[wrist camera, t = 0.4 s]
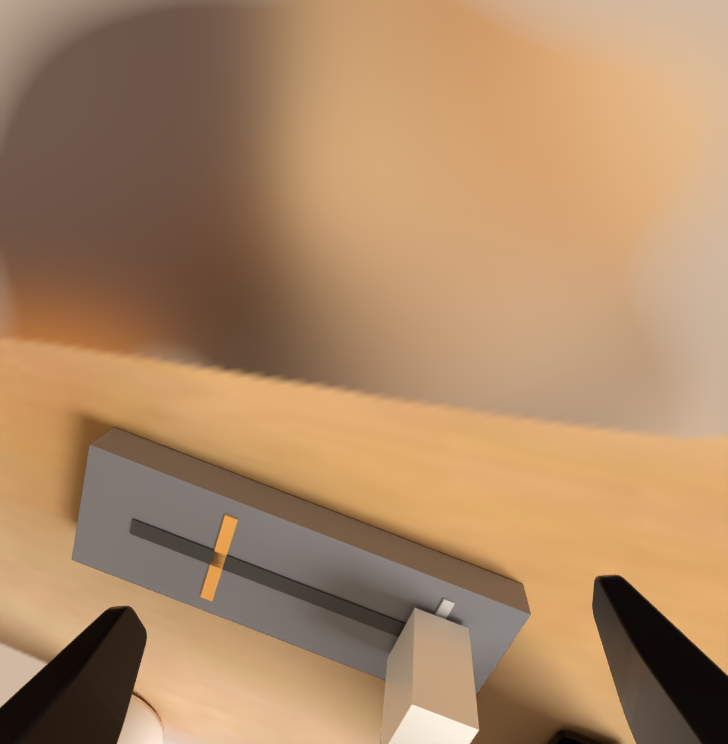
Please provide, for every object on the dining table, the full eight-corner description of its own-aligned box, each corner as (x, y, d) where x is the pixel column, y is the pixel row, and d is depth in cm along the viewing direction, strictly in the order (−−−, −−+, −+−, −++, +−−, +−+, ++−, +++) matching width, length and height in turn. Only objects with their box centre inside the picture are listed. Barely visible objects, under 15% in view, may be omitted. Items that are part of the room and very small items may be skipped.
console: (463, 677, 28) (465, 712, 26) (95, 536, 28) (70, 561, 26) (523, 584, 25) (531, 616, 24) (114, 427, 25) (88, 445, 23)
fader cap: (438, 677, 25) (441, 784, 21) (387, 658, 25) (378, 759, 21) (469, 628, 24) (479, 730, 19) (414, 607, 24) (412, 704, 19)
